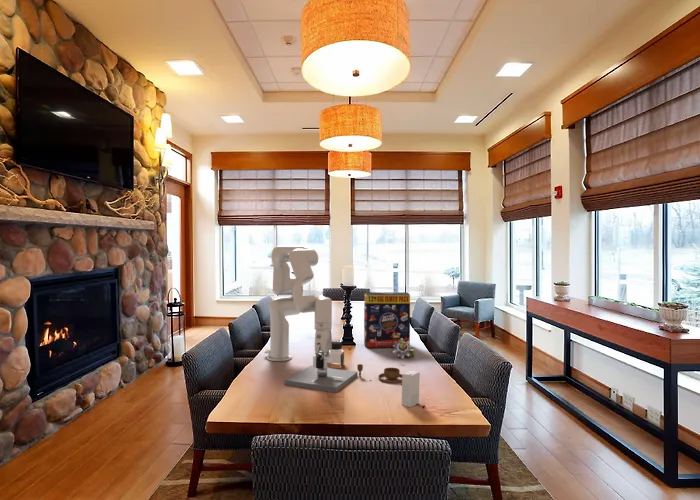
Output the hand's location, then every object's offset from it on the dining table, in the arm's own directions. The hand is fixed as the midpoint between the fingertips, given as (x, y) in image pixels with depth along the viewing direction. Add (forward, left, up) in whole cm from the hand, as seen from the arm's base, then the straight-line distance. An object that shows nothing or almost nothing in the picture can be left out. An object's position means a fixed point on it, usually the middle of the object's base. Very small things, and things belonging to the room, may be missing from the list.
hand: (322, 365), depth 194 cm
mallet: (+2, 0, 0) cm, 2 cm away
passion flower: (+21, +54, -7) cm, 59 cm away
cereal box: (+6, +74, -7) cm, 75 cm away
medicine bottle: (-4, +23, -7) cm, 24 cm away
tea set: (+23, +16, -7) cm, 29 cm away
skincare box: (+43, -12, -7) cm, 45 cm away
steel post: (0, 0, -4) cm, 4 cm away
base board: (0, 0, -6) cm, 6 cm away
